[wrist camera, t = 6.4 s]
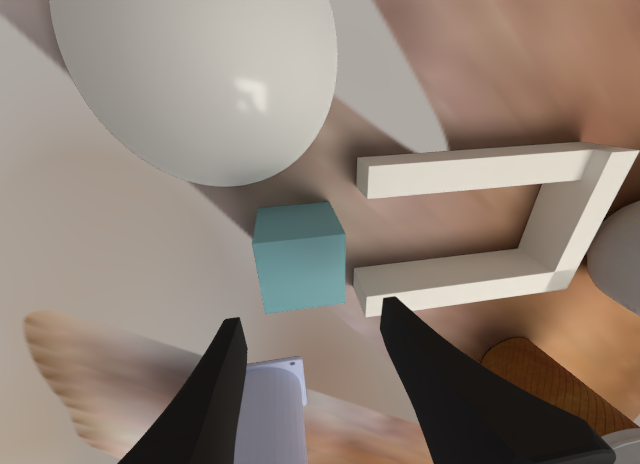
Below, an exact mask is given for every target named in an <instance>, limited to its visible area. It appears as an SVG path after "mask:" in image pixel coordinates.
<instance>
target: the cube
mask: <svg viewBox="0 0 640 464" xmlns="http://www.w3.org/2000/svg"><path fill="white" fill-rule="evenodd" d="M345 243H346V234H345V232H344V230H343V228H342V226H341V224H340V222H339V220H338V218H337V216H336V214H335V212H334V210H333V208H332V206H331V204H330V202H320V203H309V204H298V205H286V206H275V207H264V208H258V211H257V217H256V223H255V229H254V235H253V242H252V246H253V251H254V256H255V262H256V267H257V273H258V278H259V283H260V289H261V294H262V300H263V305H264V310H265V314H268V313H276V312H283V311H291V310H298V309H305V308H313V307H320V306H327V305H335V304H342V303H345Z"/></svg>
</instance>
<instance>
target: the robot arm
mask: <svg viewBox="0 0 640 464" xmlns="http://www.w3.org/2000/svg"><path fill="white" fill-rule="evenodd" d="M380 331H381V334H382V337H383V340H384V343H385V346H386V349H387V351H388V353H389V356H390V358H391V360H392V362H393V364H394V366H395V368H396V371H397V373H398V375H399V377H400V379H401V381H402V383H403V385H404V387H405V390H406V392H407V394H408V396H409V398H410V400H411V403H412V405H413V407H414V410H415V412H416V415H417V418H418V421H419V423H420V426H421V429H422V431H423V434H424V437H425V440H426V443H427V446H428V448H429V451H430V454H431V457H432V460H433V463H434V464H614V462H615V460H616V454H615V451H614V450H613V449H612V448H611V447H610V446H609V445H608V444H607V443H606V442H605V441H604V440H603V439H602V438H601V437H600V436H599V434H598V433H597V432H596V431H595V430H594V429H593V428H592V427H591V426H590V425H589V424H588V423H587V422H586V421H585V420H584V419H582V418H580V417H578V416H576V415H573V414H571V413H569V412H567V411H565V410H563V409H561V408H559V407H556V406H554V405H552V404H550V403H548V402H546V401H544V400H542V399H540V398H538V397H536V396H534V395H532V394H530V393H529V392H527V391H525V390H523V389H521V388H519V387H517V386H516V385H514V384H512V383H510V382H508V381H507V380H505V379H503V378H502V377H500V376H498V375H497V374H495V373H493V372H492V371H490V370H488V369H487V368H485V367H484V366H482V365H480V364H479V363H477V362H476V361H474V360H473V359H472V358H470V357H469V356H467V355H466V354H464V353H463V352H461V351H460V350H459V349H457V348H456V347H454V346H453V345H452V344H451V343H449V342H448V341H447V340H445V339H444V338H443V337H442V336H440V335H439V334H438V333H437V332H435V331H434V330H433V329H432V328H431V327H429V326H428V325H427V324H426V323H425V322H424V321H422V320H421V319H420V318H419V317H418V316H417V315H416V314H415V313H413V312H412V311H411V310H410V309H409V308H408V307H407V306H406V305H405V304H404V303H403V302H401V301H400V300H399V299H398V298H397V297H396V296H393V297H386V298H383V303H382V312H381V322H380ZM306 404H307V399H306V389H305V380H304V371H303V361H302V358H301V357H300V356H295V357H289V358H282V359H276V360H269V361H263V362H256V363H250V364H247V345H246V341H245V337H244V333H243V329H242V325H241V321H240V318H239V317H237V318H230V319H225V320H224V321H223V323H222V325H221V327H220V328H219V330H218V332H217V334H216V335H215V337H214V339H213V341H212V343H211V344H210V346H209V347H208V349H207V351H206V352H205V354H204V355H203V357H202V359H201V360H200V362H199V363H198V365H197V366H196V368H195V369H194V371H193V372H192V374H191V375H190V377H189V378H188V379H187V381H186V382H185V384H184V385H183V387H182V388H181V389H180V391H179V392H178V393H177V395H176V396H175V397H174V399H173V400H172V401H171V403H170V404H169V405H168V407H167V408H166V409H165V410H164V412H163V413H162V414H161V415H160V417H159V418H158V419H157V420H156V421H155V422H154V424H153V425H152V426H151V427H150V428H149V429H148V431H147V432H146V433H145V434H144V435H143V436H142V438H141V439H140V440H139V441H138V442H137V443H136V444H135V445H134V447H133V448H132V449H131V450H130V451H129V452H128V453H127V454H126V455H125V456H124V457H123V458H122V459H121V460H120V461H119V463H118V464H308V462H307V450H306V438H305V426H304V414H303V406H305V405H306Z"/></svg>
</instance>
